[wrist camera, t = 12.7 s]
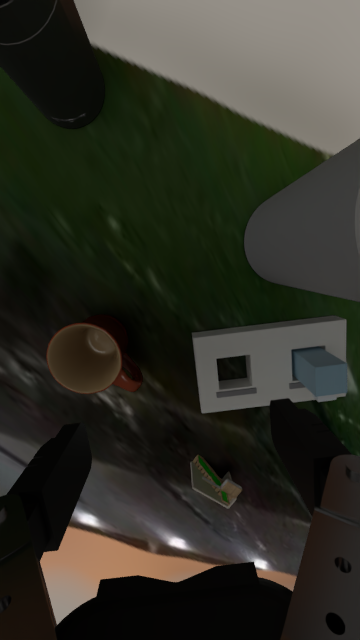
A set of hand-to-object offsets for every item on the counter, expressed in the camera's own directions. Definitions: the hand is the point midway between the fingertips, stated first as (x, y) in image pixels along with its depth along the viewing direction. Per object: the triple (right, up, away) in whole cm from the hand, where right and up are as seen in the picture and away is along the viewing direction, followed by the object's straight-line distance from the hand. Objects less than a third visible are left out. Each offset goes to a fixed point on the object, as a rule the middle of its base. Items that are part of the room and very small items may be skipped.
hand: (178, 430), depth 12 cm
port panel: (+14, -2, +31) cm, 34 cm away
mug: (-10, +1, +31) cm, 32 cm away
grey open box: (+5, -21, +36) cm, 42 cm away
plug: (+19, -1, +31) cm, 37 cm away
